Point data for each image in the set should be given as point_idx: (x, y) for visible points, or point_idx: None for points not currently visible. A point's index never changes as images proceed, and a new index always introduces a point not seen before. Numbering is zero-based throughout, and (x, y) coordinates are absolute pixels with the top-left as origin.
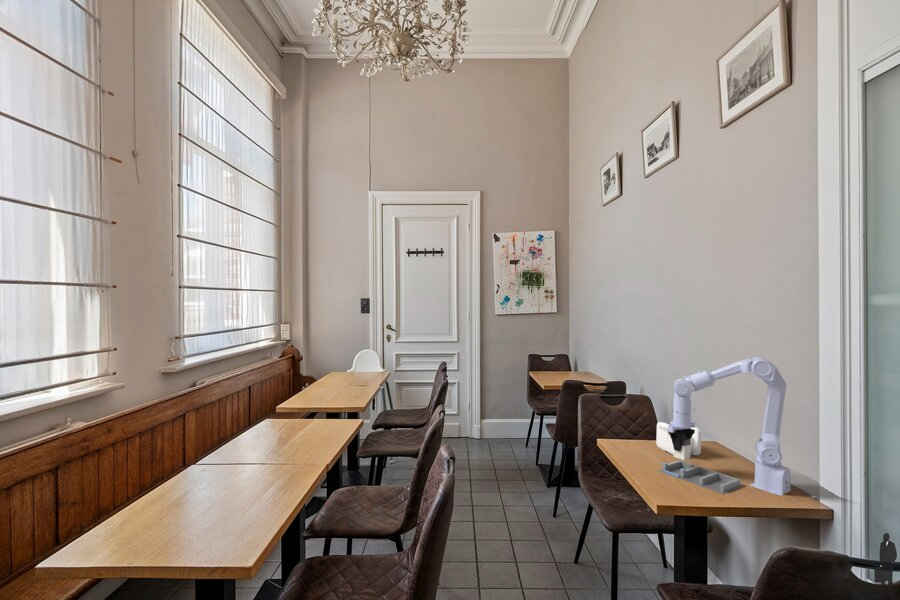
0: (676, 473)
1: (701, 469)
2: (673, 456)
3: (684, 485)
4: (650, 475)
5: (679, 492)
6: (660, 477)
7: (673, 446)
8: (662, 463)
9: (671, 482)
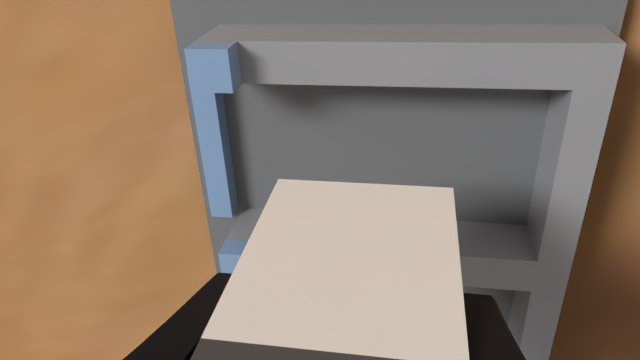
0: (291, 151)
1: (524, 302)
2: (278, 181)
3: (162, 274)
4: (40, 9)
5: (34, 301)
6: (101, 92)
7: (186, 303)
8: (185, 50)
9: (110, 199)
